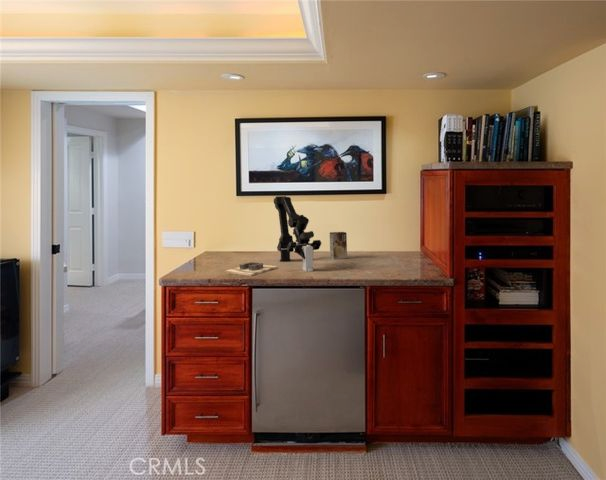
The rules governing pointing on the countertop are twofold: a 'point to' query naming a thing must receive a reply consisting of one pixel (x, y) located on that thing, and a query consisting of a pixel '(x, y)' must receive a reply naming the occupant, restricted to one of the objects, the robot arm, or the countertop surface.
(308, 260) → the block
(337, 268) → the countertop surface
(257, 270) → the board
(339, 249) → the coffee box
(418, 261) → the countertop surface
